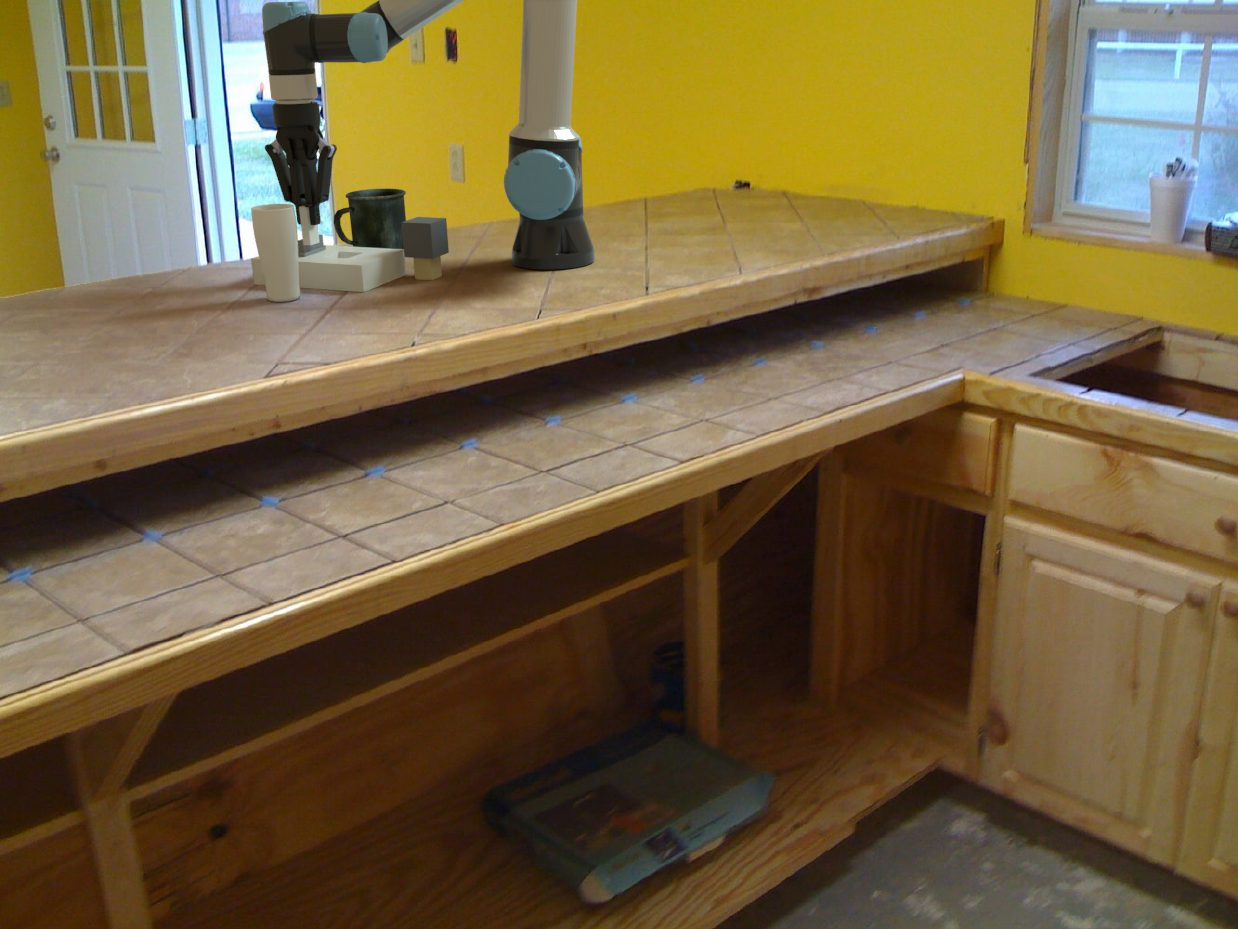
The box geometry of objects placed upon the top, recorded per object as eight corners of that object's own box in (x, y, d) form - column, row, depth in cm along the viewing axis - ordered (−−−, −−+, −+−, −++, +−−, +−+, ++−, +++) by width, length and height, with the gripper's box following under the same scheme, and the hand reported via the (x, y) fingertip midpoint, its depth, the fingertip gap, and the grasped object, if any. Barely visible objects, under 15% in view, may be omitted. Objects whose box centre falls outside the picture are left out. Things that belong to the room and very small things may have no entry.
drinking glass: (283, 305, 191) (271, 211, 185) (253, 301, 194) (241, 208, 189) (314, 297, 196) (303, 205, 190) (285, 292, 199) (273, 202, 194)
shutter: (326, 249, 210) (324, 234, 209) (304, 256, 205) (302, 241, 204) (295, 247, 212) (293, 232, 212) (273, 254, 207) (271, 239, 206)
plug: (450, 275, 210) (446, 218, 206) (434, 281, 205) (430, 223, 201) (422, 273, 211) (417, 216, 208) (406, 280, 207) (401, 222, 203)
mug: (422, 256, 226) (416, 192, 222) (353, 267, 218) (346, 201, 213) (392, 248, 234) (387, 186, 230) (325, 259, 225) (318, 195, 221)
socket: (406, 274, 211) (404, 249, 209) (363, 292, 198) (361, 265, 197) (301, 268, 218) (298, 243, 216) (254, 284, 206) (250, 258, 204)
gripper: (341, 99, 198) (355, 241, 206) (275, 99, 202) (292, 238, 211) (315, 103, 191) (331, 249, 200) (248, 102, 196) (266, 245, 204)
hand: (311, 243), depth 205 cm, fingers closed
